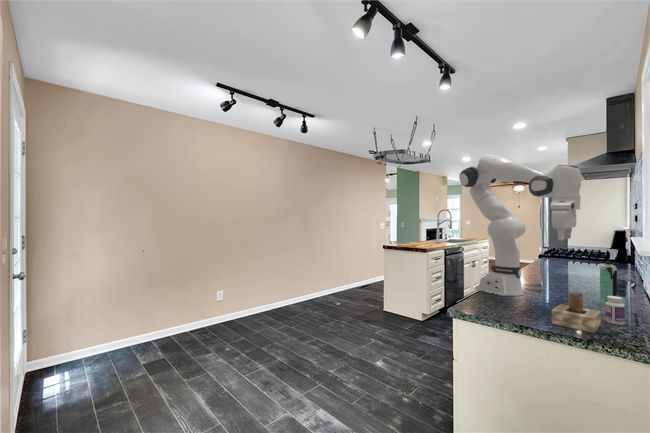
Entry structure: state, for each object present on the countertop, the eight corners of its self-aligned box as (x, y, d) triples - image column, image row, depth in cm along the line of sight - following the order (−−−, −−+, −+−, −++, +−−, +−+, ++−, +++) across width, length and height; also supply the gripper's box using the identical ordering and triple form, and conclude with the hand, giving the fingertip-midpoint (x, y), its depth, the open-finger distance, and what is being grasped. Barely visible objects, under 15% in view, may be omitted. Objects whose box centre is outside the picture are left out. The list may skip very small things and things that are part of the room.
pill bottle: (625, 322, 112) (625, 297, 112) (624, 326, 108) (624, 299, 108) (605, 319, 116) (605, 294, 116) (604, 322, 112) (604, 297, 112)
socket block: (551, 323, 112) (551, 310, 112) (560, 316, 119) (560, 304, 119) (594, 333, 103) (594, 318, 103) (600, 324, 110) (600, 311, 110)
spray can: (620, 308, 129) (620, 262, 129) (606, 307, 130) (605, 261, 130) (611, 304, 135) (610, 260, 135) (597, 303, 136) (596, 260, 136)
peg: (568, 320, 111) (567, 293, 111) (570, 317, 114) (570, 291, 114) (582, 322, 108) (581, 295, 108) (584, 320, 111) (583, 293, 111)
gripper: (562, 205, 128) (561, 237, 129) (548, 204, 115) (547, 240, 116) (581, 205, 123) (580, 238, 124) (569, 204, 110) (567, 241, 111)
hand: (564, 239), depth 120 cm, fingers open, 8 cm apart
